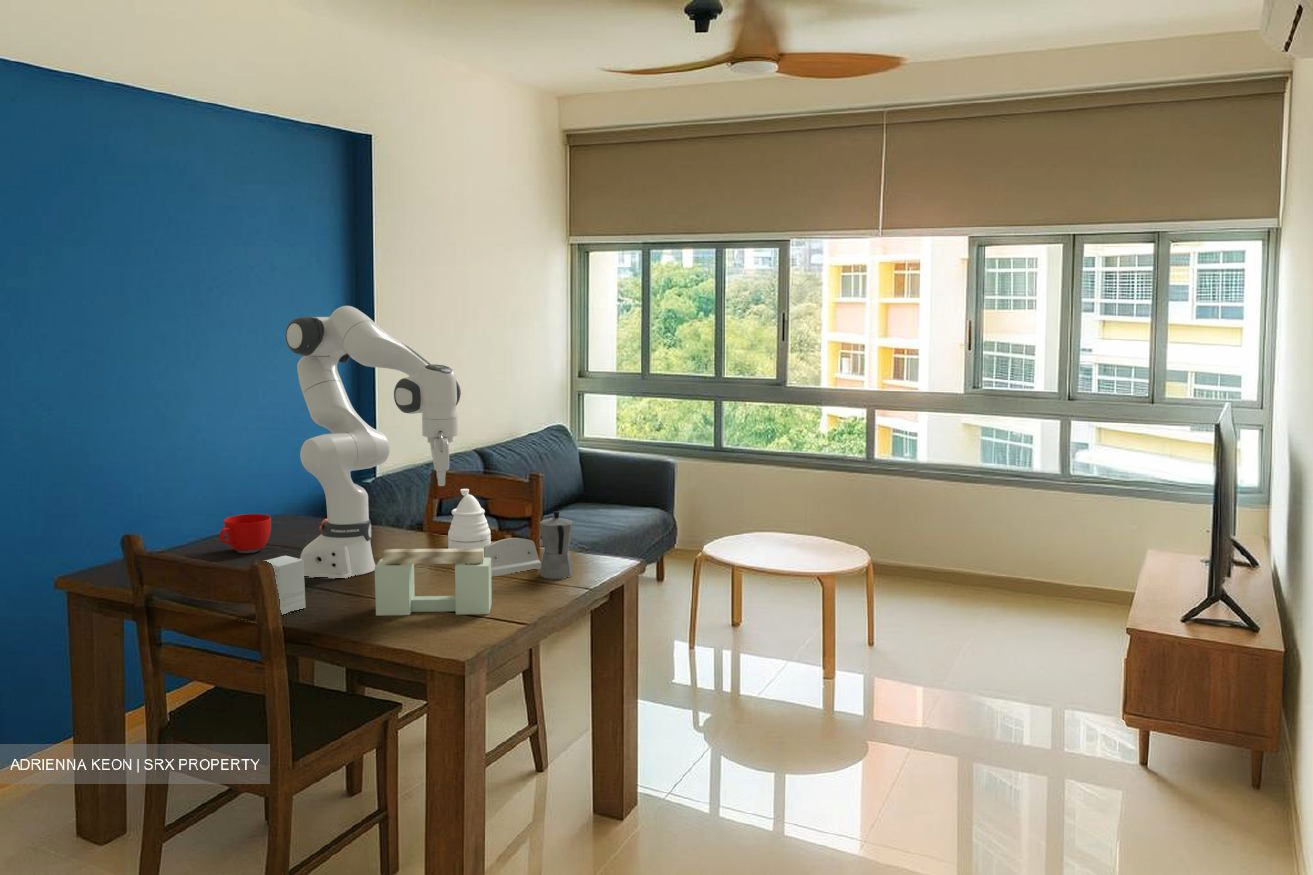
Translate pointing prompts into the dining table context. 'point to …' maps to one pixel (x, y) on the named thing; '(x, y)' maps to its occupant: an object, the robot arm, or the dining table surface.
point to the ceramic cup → (247, 531)
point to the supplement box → (289, 582)
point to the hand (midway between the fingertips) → (440, 482)
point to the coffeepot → (556, 547)
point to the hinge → (512, 556)
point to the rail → (433, 556)
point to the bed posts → (400, 596)
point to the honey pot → (468, 525)
